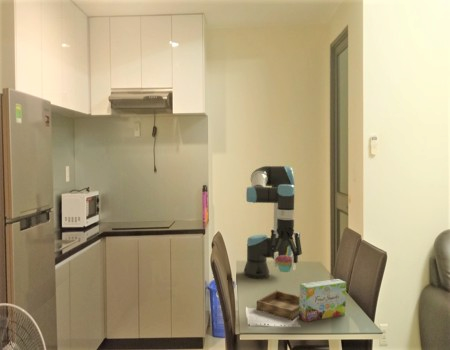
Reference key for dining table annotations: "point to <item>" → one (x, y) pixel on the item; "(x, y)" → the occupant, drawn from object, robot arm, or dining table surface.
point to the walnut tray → (280, 305)
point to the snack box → (322, 299)
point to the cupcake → (284, 262)
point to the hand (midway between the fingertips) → (284, 267)
